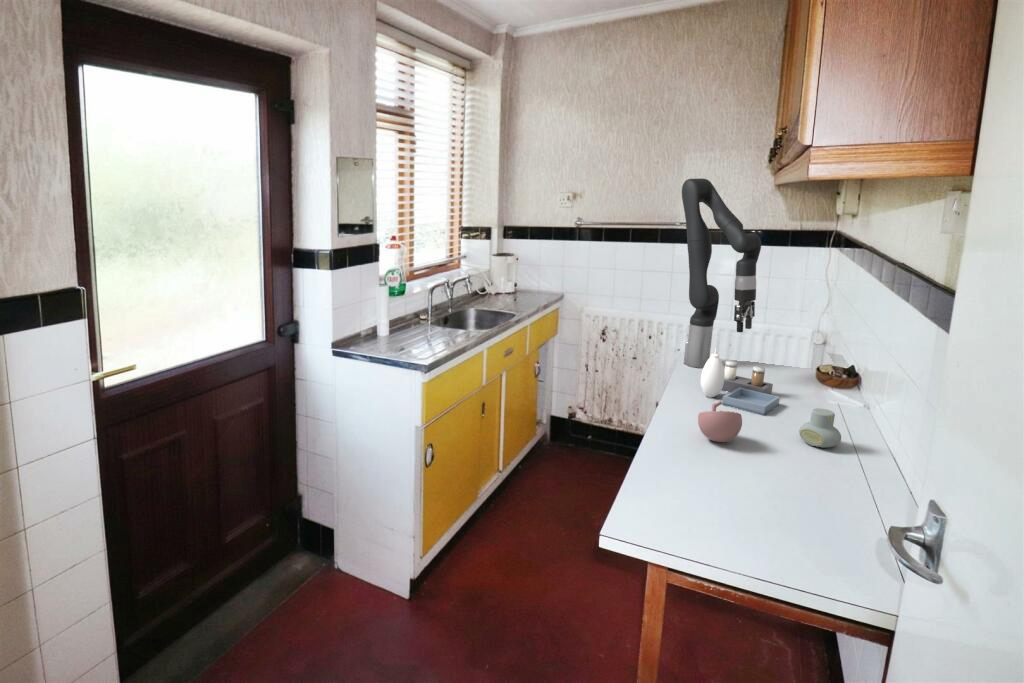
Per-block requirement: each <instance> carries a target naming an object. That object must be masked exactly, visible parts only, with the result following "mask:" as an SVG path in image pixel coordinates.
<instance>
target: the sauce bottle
mask: <svg viewBox="0 0 1024 683" xmlns="http://www.w3.org/2000/svg"><path fill="white" fill-rule="evenodd" d="M724 372H725V367H724V364H723V361H722V360H721V358H720V355H719V354H718V353H717V347H716V346H715V350H714V353H711V354H710V358H709V359H708V361H707V362H706V364H705V366H704V368H702V371H701V374H700V386H701V391H702V392H703V394H705V396H706V397H708V398H715V397H716V396H718V395H719V394H720V393H721V392H722V388H723V385H724V378H725V375H724Z"/></svg>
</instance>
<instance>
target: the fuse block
mask: <svg viewBox="0 0 1024 683" xmlns="http://www.w3.org/2000/svg"><path fill="white" fill-rule="evenodd" d="M751 380H752V378H748V377H743V376H740V375H739V376H738V375H736V378H735V381H732V380H728V379H724V385H723V388H722V390H724V391H723V392H726V391H728V392H727V393H730V392H732V391H734V390H736V389H737V388H739V387H740V388H744V389H748V390H753V391H757V392H761V393H765V394H769V395H773V394H772V393H773V386H774V383H772V382H771V383H770V382H767V381H766V382H765V381H763V387H758V386H754V385H751ZM722 390H721V391H722Z"/></svg>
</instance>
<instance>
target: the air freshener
mask: <svg viewBox="0 0 1024 683" xmlns="http://www.w3.org/2000/svg"><path fill="white" fill-rule="evenodd" d="M835 416H836V414H835V412H834V411H832V410H830V409H826V408H822V407H821V408H820V407H819V408H818V407H817V408H814V409H812V411H811V416H810V421H808V422H806V423H804V424H802V425H801V426H799V429H798V434H799V436H800V438H801V439H802V440H803V441H804V442H805V443H807V445H809V444H810V445H809V446H811V445H812V446H811V447H813V446H816V447H815V448H818V447H821V449H822V448H823V449H827V448H828V449H829V448H833V447H836V446H838V444H839V443H840V442H842V435H841V432H840V430H839V429H838V428H836V427H835V426H834V424H835Z"/></svg>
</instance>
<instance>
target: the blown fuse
mask: <svg viewBox="0 0 1024 683" xmlns="http://www.w3.org/2000/svg"><path fill="white" fill-rule="evenodd" d="M765 373H766V367H763V366H759V365H758V366H757V365H755V366H753V367H752V372H751V379H752V380H751V385H754V386H758V387H763V382H765Z"/></svg>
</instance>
